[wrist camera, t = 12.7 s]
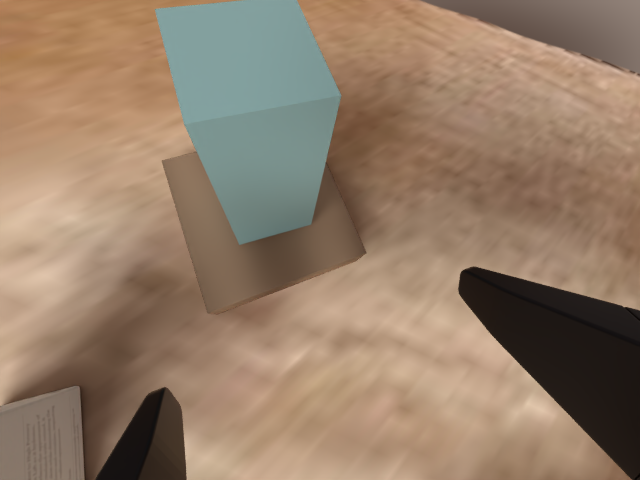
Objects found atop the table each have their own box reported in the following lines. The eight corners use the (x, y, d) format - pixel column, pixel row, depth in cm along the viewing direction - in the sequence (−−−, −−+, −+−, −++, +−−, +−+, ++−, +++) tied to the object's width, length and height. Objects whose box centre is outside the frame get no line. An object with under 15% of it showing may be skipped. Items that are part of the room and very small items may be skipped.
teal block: (289, 164, 19) (294, -5, 10) (311, 224, 18) (341, 95, 8) (221, 180, 18) (155, 9, 9) (239, 244, 17) (184, 124, 8)
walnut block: (305, 148, 23) (309, 123, 20) (354, 262, 21) (366, 252, 18) (177, 182, 21) (161, 160, 18) (218, 314, 19) (207, 313, 16)
